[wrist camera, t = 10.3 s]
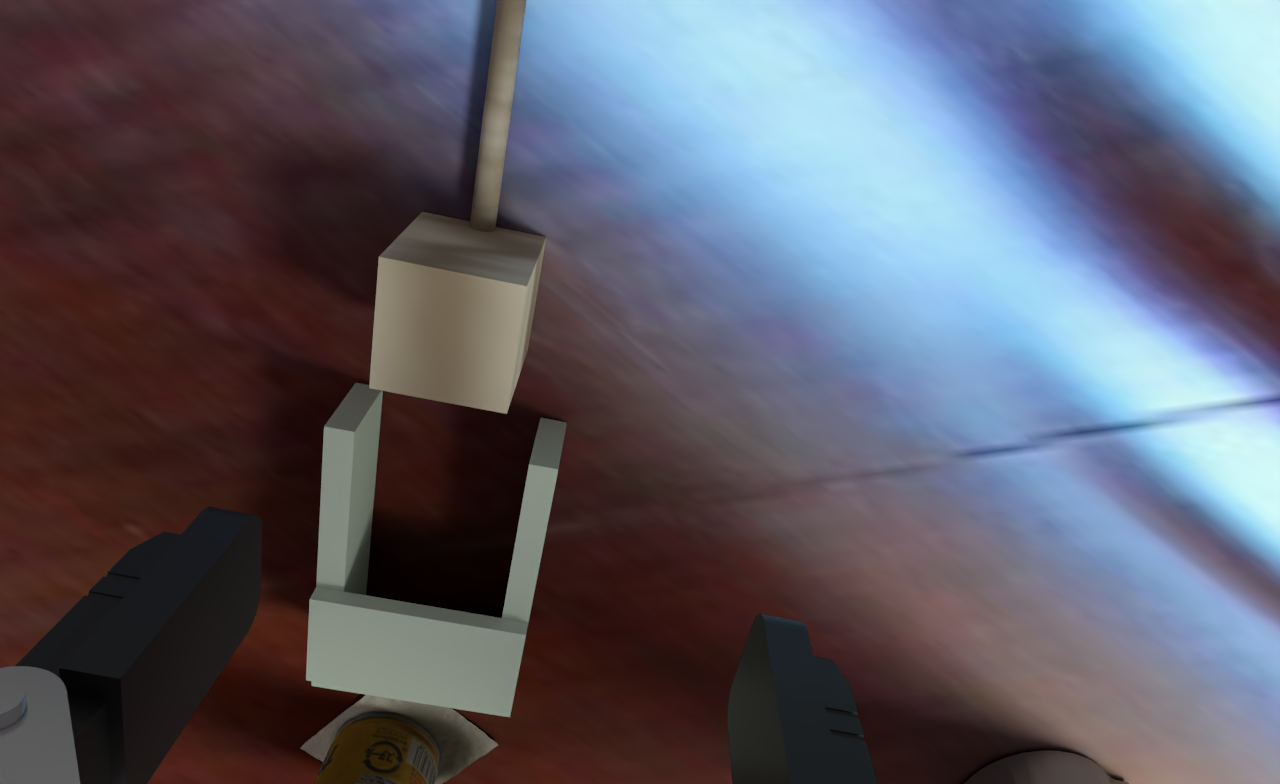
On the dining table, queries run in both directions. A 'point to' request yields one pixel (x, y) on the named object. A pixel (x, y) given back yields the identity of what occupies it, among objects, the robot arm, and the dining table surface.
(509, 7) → the tethered block
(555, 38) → the dining table surface
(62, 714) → the robot arm
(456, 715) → the condiment
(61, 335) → the dining table surface
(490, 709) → the u-shaped sage bracket
